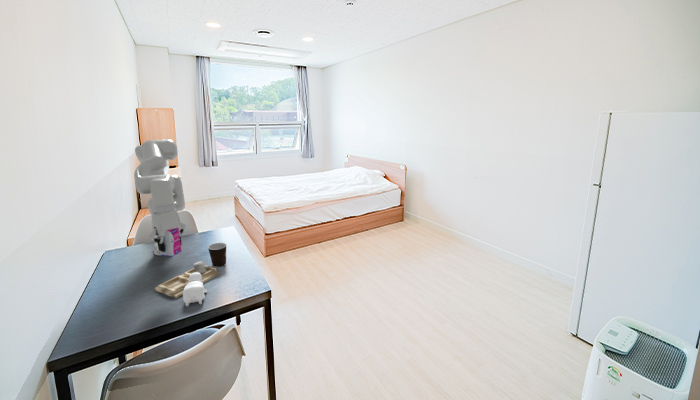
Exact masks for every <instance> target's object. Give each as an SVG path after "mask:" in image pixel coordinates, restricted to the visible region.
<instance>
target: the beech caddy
mask: <svg viewBox="0 0 700 400" xmlns="http://www.w3.org/2000/svg"><path fill="white" fill-rule="evenodd" d="M195 272H198V273H200V274H201V276H202V283H203V284H204V283H207V282H208V281H210V280H212V279H214V278H216V277H218V276H219V275H221V274H220V273H221V272H220V271H217V267H214V266H213V267H212V266H210V265H207V264H206V262H205V261H204V260H203V261H197V262H194V263H193V268H191V269H189V270H187V271H186V270H185V271H184V273H182V274H180V275H179V274H178V275H177V276H175V277H172V278H171V279H168V280H166V281H164V282H162V283H159V284H158V285H157V286H155V287H154V291H155V292H158V293H161V294H164V295H165V296H168V297H171V298H175V299H179V298H180V297H181V296H182V297H183V290H184V288H185V286H186V285H187V284H188V283H189V276H190V274H192V273H195Z"/></svg>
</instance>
